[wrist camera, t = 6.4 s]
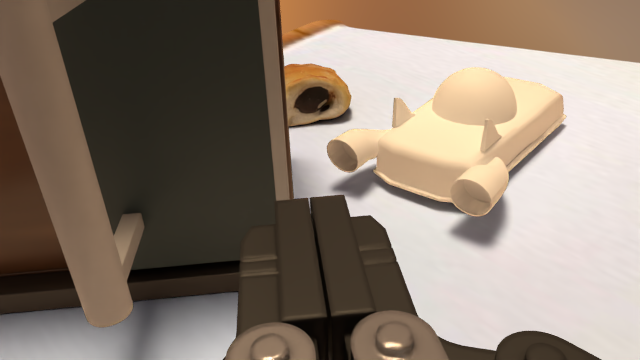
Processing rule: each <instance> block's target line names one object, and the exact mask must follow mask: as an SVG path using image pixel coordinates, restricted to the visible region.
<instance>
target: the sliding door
mask: <svg viewBox="0 0 640 360" xmlns="http://www.w3.org/2000/svg"><path fill="white" fill-rule="evenodd" d="M0 76H1V79H2V82H3V85H4V87H5V90H6V93H7V96H8V99H9V102H10V104H11V107H12V110H13V113H14V116H15V119H16V121H17V124H18V127H19V130H20V133H21V135H22V138H23V141H24V144H25V147H26V150H27V152H28V155H29V158H30V161H31V164H32V166H33V169H34V172H35V175H36V178H37V181H38V183H39V186H40V189H41V192H42V195H43V198H44V200H45V203H46V206H47V209H48V212H49V214H50V217H51V220H52V223H53V226H54V229H55V231H56V234H57V237H58V240H59V243H60V245H61V248H62V251H63V254H64V257H65V260H66V262H67V265H68V268H69V271H70V274H71V277H72V279H73V282H74V285H75V288H76V291H77V293H78V296H79V299H80V302H81V305H82V308H83V310H84V313H85V316H86V319H87V321H88V322H89V323H90V324H91V325H93V326H95V327H109V326H112V325H115V324H117V323H119V322H121V321H123V320H124V319H125V318H127V317H128V316H129V314H130V313H131V311H132V309H133V302H132V298H131V295H130V291H129V288H128V284H127V279H128V276H129V273H130V270H138V269H149V268H160V267H171V266H181V265H192V264H203V263H214V262H225V261H235V260H240V247H241V241H242V239H243V238H244V236H245V235H246V233H247V232H248V230H249V229H250V227H251V226H259V225H270V224H276V222H275V203H274V201H278V200H290V198H289V184H288V171H287V158H286V145H285V132H284V118H283V105H282V92H281V79H280V66H279V52H278V39H277V26H276V13H275V0H0Z"/></svg>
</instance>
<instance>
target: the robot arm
mask: <svg viewBox="0 0 640 360" xmlns="http://www.w3.org/2000/svg"><path fill="white" fill-rule="evenodd" d="M274 203H275V222H276V224H270V225H259V226H251V227H250V229H249V230H248V232H247V233H246V235H245V236H244V238H243V239H242V241H241V247H240V269H239V276H240V277H239V291H238V314H237V333H236V339H235V340H234V341H233V342H232V344H231V345H230V347H229V349H228V351H227V354H226V357H225V358H224V359H223V360H601V359H599V358H597V357H596V356H594V355H592V354H590V353H588V352H586V351H584V350H582V349H581V348H579V347H577V346H575V345H573V344H571V343H569V342H568V341H566V340H564V339H562V338H559V337H557V336H554V335H551V334H548V333H544V332H538V331H522V332H517V333H514V334H511V335H509V336H507V337H506V338H504V339H503V340H502V341H501V342H500V344H499V345H498V347H497V350H496V351H493V350H486V349H480V348H474V347H467V346H462V345H458V344H454V343H451V342H449V341H446V340H444V339H442V338H440V337H438V336H437V335H436V333H435V331H434V330H433V329H432V327H431V326H430V325H429V324H428V323H426V322H425V321H424V320H422V319H421V318H419V317H418V315H417V313H416V310H415V307H414V305H413V302H412V299H411V297H410V294H409V291H408V289H407V286H406V283H405V280H404V278H403V275H402V272H401V270H400V267H399V264H398V262H397V261H396V256H395V254H394V251H393V248H391V243H390V240H389V237H388V235H387V232H386V229H385V228H384V227H383V226H382V225H381V224H379V223H378V222H377V221H376V220H375V219H374V218H373V217H372V216H370V215H369V216H358V217H350V214H349V210H348V207H347V203H346V200H345V196H344V195H334V196H323V197H311V198H310V208H309V202H308V198H301V199H290V200H278V201H274ZM310 209H311V214H310Z"/></svg>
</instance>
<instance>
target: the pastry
mask: <svg viewBox="0 0 640 360" xmlns="http://www.w3.org/2000/svg"><path fill="white" fill-rule="evenodd" d="M284 70H285V85H286V99H287V113H288V126H295V125H305V124H308V123H312V122H315V121H317V120H321V119H332V118H336V117H338V116H340V115H341V114H344V112H345V111H346V110H347V108H348V107H349V105H350V101H351V95H350V93H349V90H348V86H347V85H346V84H345V82H344V81H343V80H342V79H341V78H340V77H339V76H338V75H337V74H336V72H335V71H334V70H332V69H331V68H325V67H321V66H318V65H315V64H303V65H299V64H289V65H287V66H285V67H284Z"/></svg>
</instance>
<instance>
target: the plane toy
mask: <svg viewBox="0 0 640 360" xmlns="http://www.w3.org/2000/svg"><path fill="white" fill-rule="evenodd" d="M563 110H564V106H563V96H562V95H561V94H559V93H557V92H555V91H553V90H551V89H550V88H548V87H546V86H544V85H542V84H539V83H534V82H529V81H524V80H519V79H513V78H507V77H502V76H501V75H499V74H498V73H496V72H494V71H492V70H489V69H485V68H476V67H475V68H467V69H463V70H460V71H458V72H456V73H454V74H452V75H450V76H449V77H448V78H447V79H446V80H445V81H444V82H443V83H442V84H441V85H440V86H439V88H438V89H437V91H436V93H435V95H434V97H433V98H432V99H431V100H429V101H428V102H427V103H425V104H424V105H423V106H421V107H420V108H419V109H417V110H416V111H414V112H413V113H411V111H410V110H409V109H408V107H407V106H406V104H405V103H404V102H403V100H402V99H400V98H394V107H393V122H392V127H393V128H392V129H391V130H368V129H352V130H349V131H347V132H345V133H343V134H342V135H340V136H338V137H336V138H335V139H333V140H331V141H330V142H329V143H328V145H327V153H328V156H329V158H330V160H331V162H332V163H333V164H334V165H335V166H336V167H337V168H338V169H340V170H342V171H344V172H348V173H350V172H354V171H355V170H357V169H358V168H359V167H361V166H362V165H363V164H364V163H366V162H367V161H368V160H371V159H374V158H376V157H377V167H376V168H375V169H374V170H373V172H374V173H375V174H377V175H378V176H379V177H380V178H382V179H383V180H384V181H385V182H386V183H388V184H390V185H393V186H396V187H398V188H401V189H404V190H407V191H410V192H413V193H416V194H419V195H422V196H425V197H428V198H430V199H433V200H436V201H442V202H453V203H454V205H455V206H456V207H457V208H458V209H459V210H461V211H462V212H464V213H466V214H468V215H471V216H483V215H486V214H487V213H488V212H489V211H490V210H491V209H492V208H493V206H494V205H495V204H496V203H497V201H498V200H499V199H500V198H501V196H502V195H503V193H504V191H505V190H506V188H507V185H508V182H509V174H508V172H509V171H510V170H511V169H512V168H514V167H515V166H516V165H517V164H518V163H519V162H520V161H521V160H522V159H523V158H525V157H526V156H527V155H528V154H529V153H530V152H531V151H532V150H533V149H534V148H535V147H537V146H538V145H539V144H540V143H541V142H542V141H543V140H544V139H545V138H546V137H547V136H548V135H550V134H551V133H552V132H553V131H554V130H555V129H556V128H557V127H558V126H559V125H560V124H561V123H562V122H563V121H564V119H565V118H566V115H564V114H563Z"/></svg>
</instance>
